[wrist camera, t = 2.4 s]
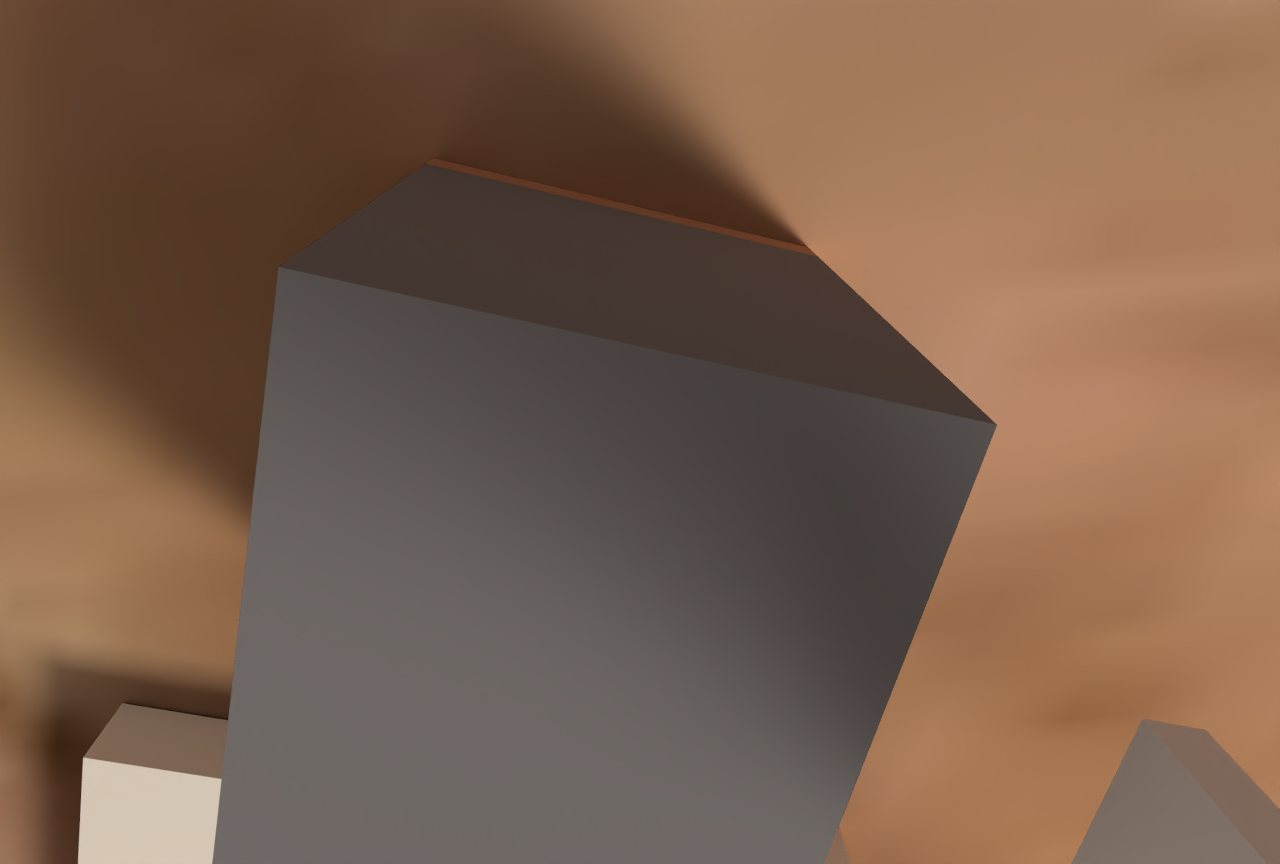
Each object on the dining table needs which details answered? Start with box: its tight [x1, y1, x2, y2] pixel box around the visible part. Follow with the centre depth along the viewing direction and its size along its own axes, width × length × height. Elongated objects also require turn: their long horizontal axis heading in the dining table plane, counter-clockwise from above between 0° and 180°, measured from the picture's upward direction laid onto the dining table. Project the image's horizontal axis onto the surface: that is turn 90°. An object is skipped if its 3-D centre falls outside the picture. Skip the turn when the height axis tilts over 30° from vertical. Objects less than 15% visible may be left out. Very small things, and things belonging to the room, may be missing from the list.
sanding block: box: [212, 158, 997, 864], centre depth 13 cm, size 8×6×8 cm
